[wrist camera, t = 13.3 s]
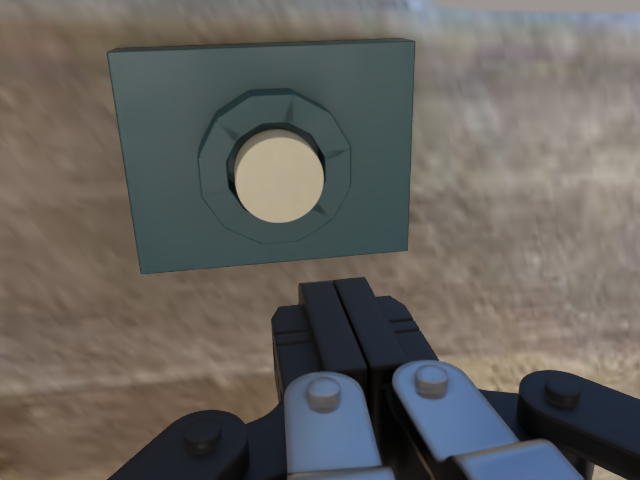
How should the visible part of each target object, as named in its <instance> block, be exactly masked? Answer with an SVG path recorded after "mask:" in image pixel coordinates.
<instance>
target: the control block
mask: <svg viewBox="0 0 640 480" xmlns="http://www.w3.org/2000/svg"><path fill="white" fill-rule="evenodd" d="M107 57H108V64H109V70H110V77H111V83H112V90H113V96H114V103H115V109H116V116H117V122H118V129H119V135H120V142H121V148H122V155H123V161H124V168H125V174H126V181H127V187H128V194H129V200H130V207H131V213H132V220H133V226H134V233H135V239H136V245H137V252H138V258H139V265H140V271H141V274H150V273H162V272H173V271H184V270H195V269H207V268H218V267H229V266H241V265H252V264H263V263H274V262H286V261H297V260H308V259H319V258H331V257H342V256H353V255H365V254H376V253H387V252H398V251H407V250H408V226H409V198H410V170H411V142H412V114H413V86H414V58H415V41H413V40H407V39H402V38H391V39H362V40H334V41H305V42H277V43H248V44H220V45H191V46H163V47H134V48H115V49H113V50H111V51H108V52H107ZM269 129H284V130H288V131H291V132H294V133H296V134H298V135H299V136H301V137H302V138H303V139H305V140H306V141H307V143H308V144H309V145H310V146H311V148H312V149H313V151H314V152H315V154H316V155H317V157H318V159H319V160H320V162H321V165H322V168H323V173H324V185H323V190H322V193H321V196H320V198H319V200H318V201H317V203H316V204H315V206H314V207H313V208H312V209H311V210H310V211H309V212H308V213H307V214H305V215H304V216H302V217H300V218H298V219H296V220H294V221H290V222H285V223H272V222H267V221H264V220H261V219H259V218H257V217H255V216H254V215H252V214H251V213H250V212H249V211H248V210H247V209H246V208H245V207H244V206H243V204H242V203H241V201H240V199H239V197H238V195H237V191H236V186H235V177H234V164H235V160H236V156H237V154H238V152H239V150H240V148H241V147H242V146H243V144H244V143H245V142H246V141H247V140H248V139H249V138H251V137H252V136H253V135H255V134H257V133H259V132H262V131H265V130H269Z"/></svg>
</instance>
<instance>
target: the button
mask: <svg viewBox="0 0 640 480" xmlns="http://www.w3.org/2000/svg"><path fill="white" fill-rule="evenodd" d="M234 177H235V186H236V191H237V195H238V197H239V199H240V201H241V203H242V204H243V206H244V207H245V208H246V209H247V210H248V211H249V212H250V213H251V214H252V215H254V216H255V217H257V218H259V219H261V220H264V221H267V222H272V223H285V222H290V221H294V220H296V219H298V218H300V217H302V216H304V215H305V214H307V213H308V212H309V211H310V210H311V209H312V208H313V207H314V206H315V204H316V203H317V201H318V200H319V198H320V196H321V193H322V190H323V185H324V173H323V168H322V165H321V162H320V160H319V159H318V157H317V155H316V154H315V152H314V151H313V149H312V148H311V146H310V145H309V144H308V143H307V141H306V140H305V139H303V138H302V137H301V136H299V135H298V134H296V133H294V132H291V131H288V130H284V129H269V130H265V131H262V132H259V133H257V134H255V135H253V136H252V137H251V138H249V139H248V140H247V141H246V142H245V143H244V144H243V146H242V147H241V148H240V150H239V152H238V154H237V156H236V160H235V164H234Z"/></svg>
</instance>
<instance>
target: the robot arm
mask: <svg viewBox="0 0 640 480" xmlns="http://www.w3.org/2000/svg"><path fill="white" fill-rule="evenodd" d="M298 293H299V305H291V306H281V307H278V309H277V310H276V312H275V314H274V315H273V317H272V319H271V324H272V340H273V356H274V372H275V381H276V388H277V393H278V401H279V404H278V405H277V406H276V407H275V408H274V409H273V410H272V411H271V412H270V413H268V414H267V415H265V416H264V417H262V418H260V419H257V420H255V421H253V422H250V423H247V424H244V422H243V421H242V420H241V419H240V418H238V417H237V416H236V415H234V414H231V413H229V412H225V411H219V410H205V411H199V412H194V413H191V414H188V415H186V416H183V417H181V418H180V419H178V420H176V421H175V422H173V423H172V424H171V425H169V426H168V427H167V428H166V429H165V430H164V431H162V432H161V433H160V434H159V435H158V436H157V437H156V438H154V439H153V440H152V441H151V442H150V443H149V444H148V445H146V446H145V447H144V448H143V449H142V450H141V451H139V452H138V453H137V454H136V455H135V456H134V457H133V458H131V459H130V460H129V461H128V462H127V463H126V464H124V465H123V466H122V467H121V468H120V469H119V470H118V471H116V472H115V473H114V474H113V475H112V476H111V477H109V478H108V479H107V480H592V476H593V470H594V465H598V466H600V467H602V468H604V469H606V470H608V471H610V472H613V473H615V474H617V475H619V476H621V477H623V478H625V479H627V480H640V399H637V398H634V397H632V396H629V395H627V394H624V393H621V392H619V391H616V390H613V389H611V388H608V387H606V386H603V385H600V384H598V383H595V382H593V381H590V380H587V379H585V378H582V377H579V376H577V375H574V374H571V373H567V372H562V371H555V370H542V371H536V372H533V373H530V374H528V375H526V376H525V377H524V378H523V379H522V380H521V382H520V386H519V394H517V393H507V392H496V391H487V390H481V389H477V387H476V386H475V385H474V384H473V382H472V381H471V380H470V379H469V377H468V376H467V375H466V374H465V373H464V372H463V371H462V370H460V369H459V368H457V367H455V366H453V365H451V364H448V363H445V362H441V361H439V359H438V358H437V356H436V355H435V353H434V351H433V350H432V348H431V347H430V345H429V343H428V342H427V340H426V339H425V337H424V335H423V334H422V332H421V331H419V327H418V326H417V324H416V322H415V321H413V318H412V316H411V314H410V313H409V311H408V310H407V308H406V306H405V305H403V304H402V303H400V302H398V301H397V300H395V299H394V298H392V297H391V296H382V297H375V295H374V293H373V291H372V289H371V287H370V286H369V284H368V282H367V280H366V278H365V277H360V278H349V279H339V280H333V281H331V280H329V281H318V282H308V283H299V289H298Z"/></svg>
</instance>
